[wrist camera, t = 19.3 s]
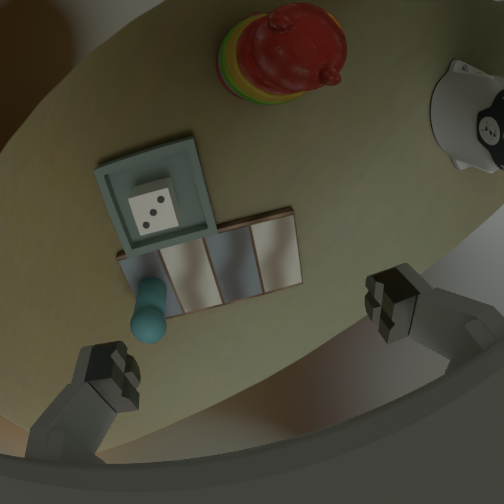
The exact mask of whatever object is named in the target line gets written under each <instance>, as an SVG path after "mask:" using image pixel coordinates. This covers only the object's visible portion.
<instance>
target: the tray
mask: <svg viewBox="0 0 504 504" xmlns="http://www.w3.org/2000/svg"><path fill="white" fill-rule="evenodd" d="M93 171H94V174H95V177H96V179H97V182H98V185H99V188H100V191H101V193H102V196H103V199H104V202H105V204H106V207H107V209H108V212H109V215H110V217H111V220H112V222H113V225H114V227H115V230H116V232H117V235H118V237H119V239H120V242H121V244H122V247H123V249H124V251H125V254H126V256H127V258H131V257H134V256H138V255H141V254H145V253H149V252H152V251H156V250H160V249H163V248H167V247H171V246H174V245H178V244H182V243H185V242H189V241H193V240H197V239H200V238H204V237H208V236H212V235H216V234H218V230H217V225H216V221H215V217H214V214H213V210H212V206H211V202H210V199H209V195H208V191H207V187H206V183H205V179H204V175H203V172H202V168H201V164H200V160H199V156H198V152H197V148H196V144H195V140H194V136H189V137H186V138H182V139H178V140H175V141H171V142H168V143H164V144H161V145H158V146H154V147H151V148H148V149H145V150H142V151H139V152H136V153H133V154H130V155H127V156H124V157H121V158H118V159H115V160H112V161H109V162H107V163H104V164H101V165H99V166H98V167H97V168H95V169H94V170H93ZM170 176H171V180H172V184H173V187H174V191H175V195H176V198H177V202H178V205H179V209H180V216H179V226H176V227H172V228H168V229H164V230H161V231H157V232H153V233H149V234H145V235H141V236H140V233H139V230H138V227H137V225H136V222H135V219H134V216H133V213H132V210H131V207H130V204H129V201H128V198H129V196H130V194H131V192H132V190H133V189H134V187H135V186H137V185H141V184H144V183H148V182H151V181H155V180H159V179H162V178H166V177H170Z"/></svg>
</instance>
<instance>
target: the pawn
mask: <svg viewBox="0 0 504 504" xmlns="http://www.w3.org/2000/svg"><path fill="white" fill-rule="evenodd" d="M166 297H167V287H166V284H165V283H164V282H163V281H162V280H161V279H159V278H156V277H147V278H145V279H143V280H142V281H141V282H140V284H139V288H138V293H137V298H136V304H135V309H134V314H133V316H132V318H131V323H130V326H131V331H132V333H133V335H134V336H135V337H136V338H137V339H138V340H139V341H141V342H143V343H148V344H150V343H155V342H157V341H159V340H160V339H161V338H162V337H163V336H164V334H165V332H166V320H165V313H166Z"/></svg>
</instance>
